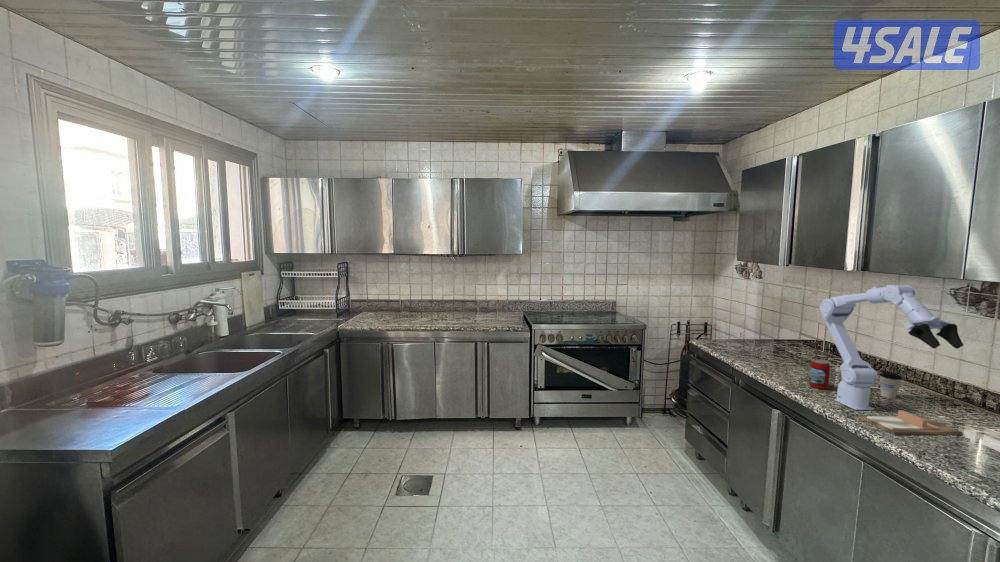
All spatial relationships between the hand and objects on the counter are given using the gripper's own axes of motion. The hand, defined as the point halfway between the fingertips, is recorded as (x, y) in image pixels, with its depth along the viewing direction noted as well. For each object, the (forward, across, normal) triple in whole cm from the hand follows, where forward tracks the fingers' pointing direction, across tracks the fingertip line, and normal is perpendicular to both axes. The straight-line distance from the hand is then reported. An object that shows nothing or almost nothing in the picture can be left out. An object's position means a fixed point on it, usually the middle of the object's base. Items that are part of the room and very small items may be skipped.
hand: (948, 346), depth 124 cm
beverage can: (-14, +2, +56) cm, 57 cm away
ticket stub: (+12, +6, +30) cm, 33 cm away
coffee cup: (-7, +24, +49) cm, 55 cm away
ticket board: (+13, +3, +31) cm, 34 cm away
